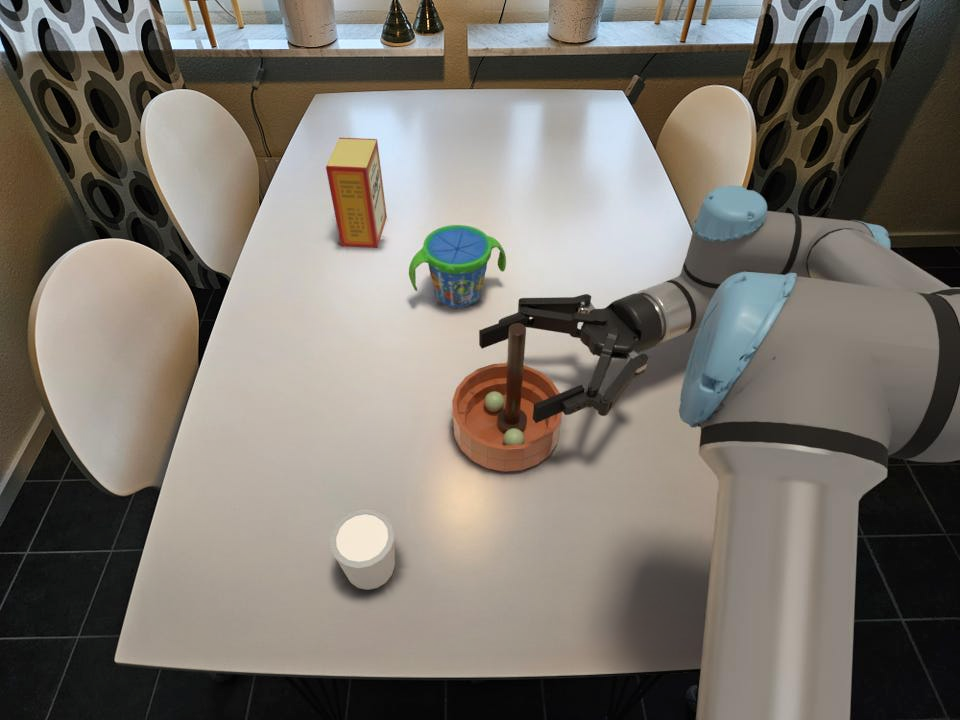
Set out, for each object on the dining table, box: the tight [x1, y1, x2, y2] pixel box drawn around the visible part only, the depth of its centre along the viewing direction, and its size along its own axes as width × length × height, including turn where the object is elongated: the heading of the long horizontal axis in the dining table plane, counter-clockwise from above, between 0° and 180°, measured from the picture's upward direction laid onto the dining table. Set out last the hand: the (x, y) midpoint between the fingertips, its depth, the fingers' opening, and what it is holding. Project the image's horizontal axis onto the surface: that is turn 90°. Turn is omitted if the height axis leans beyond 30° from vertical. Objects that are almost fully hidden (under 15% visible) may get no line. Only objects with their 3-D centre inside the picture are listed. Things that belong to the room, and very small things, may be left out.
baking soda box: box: [325, 137, 388, 249], centre depth 112 cm, size 10×6×16 cm
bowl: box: [451, 362, 563, 472], centre depth 85 cm, size 14×14×6 cm
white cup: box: [329, 508, 396, 591], centre depth 72 cm, size 7×7×7 cm
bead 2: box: [503, 428, 525, 446], centre depth 84 cm, size 3×3×3 cm
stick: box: [497, 323, 527, 434], centre depth 81 cm, size 4×4×18 cm
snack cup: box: [408, 224, 507, 309], centre depth 102 cm, size 16×10×10 cm
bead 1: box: [484, 391, 505, 412], centre depth 88 cm, size 3×3×3 cm
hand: (505, 374), depth 79 cm, fingers open, 13 cm apart
